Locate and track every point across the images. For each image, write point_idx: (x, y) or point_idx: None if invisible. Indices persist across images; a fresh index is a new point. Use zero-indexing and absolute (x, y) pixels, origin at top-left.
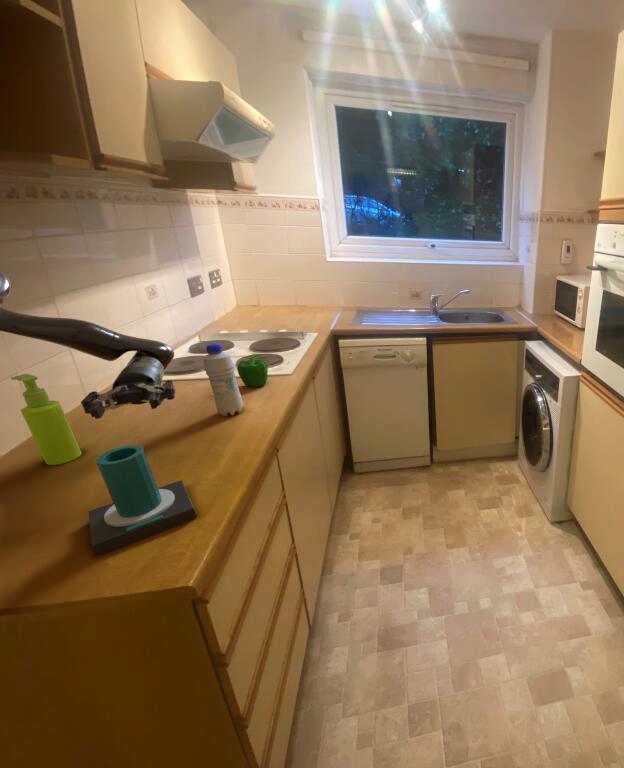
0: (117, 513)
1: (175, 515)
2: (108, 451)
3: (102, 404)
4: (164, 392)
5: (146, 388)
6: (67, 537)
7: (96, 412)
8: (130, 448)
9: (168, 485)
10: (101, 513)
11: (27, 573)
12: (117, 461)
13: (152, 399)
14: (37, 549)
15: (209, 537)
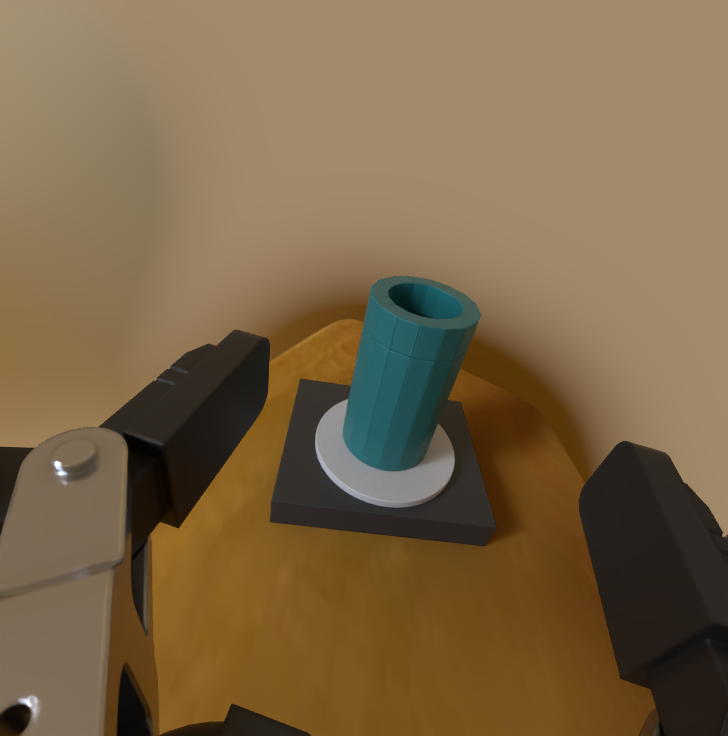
0: (429, 446)
1: (333, 385)
2: (458, 327)
3: (707, 722)
4: (21, 452)
5: (110, 579)
6: (521, 516)
7: (614, 460)
8: (401, 308)
9: (310, 498)
10: (463, 491)
11: (547, 454)
12: (429, 282)
13: (242, 333)
14: (566, 517)
15: (304, 349)
